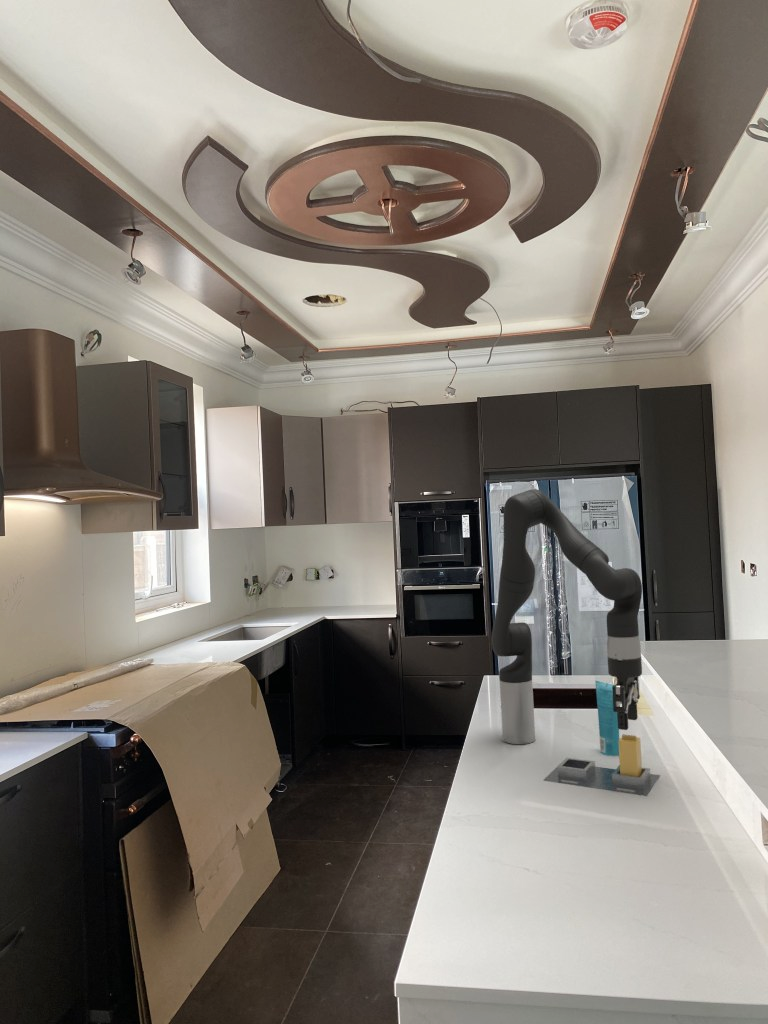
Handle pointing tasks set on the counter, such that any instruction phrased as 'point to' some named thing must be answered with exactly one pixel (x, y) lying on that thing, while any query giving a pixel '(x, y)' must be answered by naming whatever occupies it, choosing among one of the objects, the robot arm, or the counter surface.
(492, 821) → the counter surface
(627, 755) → the plug
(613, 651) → the robot arm
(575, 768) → the panel
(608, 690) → the tube
